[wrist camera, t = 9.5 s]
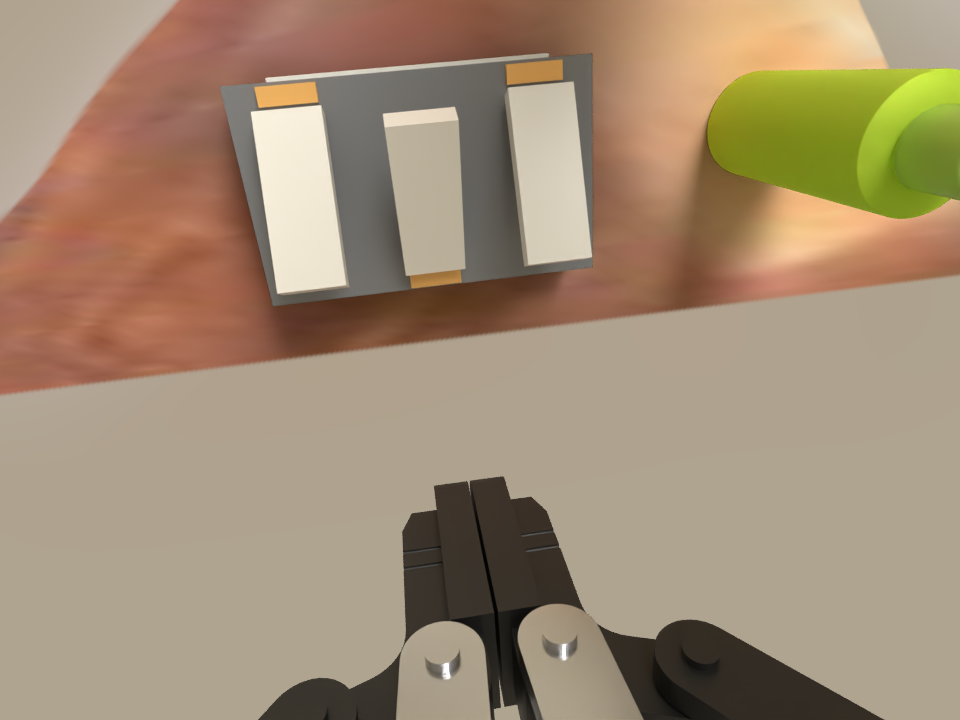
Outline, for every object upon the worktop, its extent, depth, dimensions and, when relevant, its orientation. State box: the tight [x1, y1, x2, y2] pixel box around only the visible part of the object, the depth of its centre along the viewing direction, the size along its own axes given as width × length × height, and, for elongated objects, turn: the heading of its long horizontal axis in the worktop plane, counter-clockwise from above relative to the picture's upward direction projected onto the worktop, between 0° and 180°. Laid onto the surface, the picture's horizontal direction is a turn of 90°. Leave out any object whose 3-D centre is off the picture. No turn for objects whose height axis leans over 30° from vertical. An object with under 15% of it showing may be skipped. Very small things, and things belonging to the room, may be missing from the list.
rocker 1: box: [251, 105, 349, 295], centre depth 29 cm, size 3×8×1 cm, turn 5°
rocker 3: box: [504, 82, 592, 267], centre depth 30 cm, size 3×8×1 cm, turn 5°
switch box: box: [220, 53, 593, 306], centre depth 33 cm, size 18×11×5 cm, turn 95°
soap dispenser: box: [707, 68, 960, 219], centre depth 28 cm, size 6×7×20 cm
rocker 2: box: [383, 107, 465, 276], centre depth 30 cm, size 3×8×1 cm, turn 5°
